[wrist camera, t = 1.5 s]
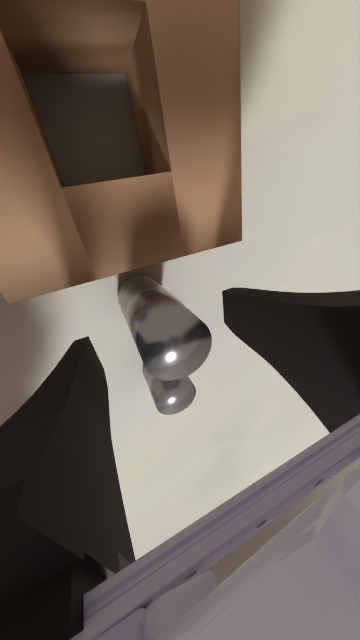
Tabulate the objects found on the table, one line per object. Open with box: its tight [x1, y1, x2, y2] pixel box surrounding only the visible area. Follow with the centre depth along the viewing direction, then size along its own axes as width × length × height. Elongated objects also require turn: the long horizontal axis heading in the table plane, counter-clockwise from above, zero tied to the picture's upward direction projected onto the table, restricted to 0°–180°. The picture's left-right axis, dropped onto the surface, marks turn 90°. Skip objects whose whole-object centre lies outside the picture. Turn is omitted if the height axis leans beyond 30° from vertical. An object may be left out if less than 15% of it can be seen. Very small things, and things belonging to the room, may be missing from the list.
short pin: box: [143, 365, 196, 415], centre depth 17 cm, size 3×3×4 cm
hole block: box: [0, 0, 242, 304], centre depth 9 cm, size 12×12×4 cm
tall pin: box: [118, 275, 212, 381], centre depth 12 cm, size 3×3×8 cm
